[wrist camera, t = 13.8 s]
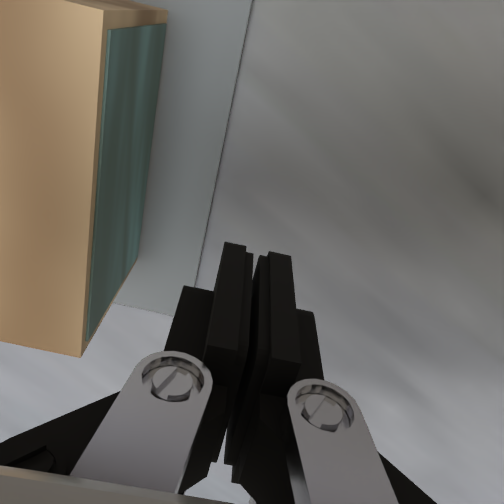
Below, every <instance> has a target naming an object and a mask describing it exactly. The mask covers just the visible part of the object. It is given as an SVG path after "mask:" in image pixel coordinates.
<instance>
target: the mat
mask: <svg viewBox="0 0 504 504" xmlns="http://www.w3.org/2000/svg"><path fill="white" fill-rule="evenodd" d="M130 1H134V2H138V3H142V4H146V5H150V6H154V7H158V8H162V9H166V10H168V16H167V25H166V33H165V41H164V49H163V57H162V65H161V73H160V81H159V89H158V97H157V105H156V113H155V122H154V130H153V138H152V146H151V154H150V162H149V170H148V178H147V186H146V194H145V202H144V210H143V218H142V226H141V234H140V242H139V250H138V257H137V261H136V263H135V265H134V266H133V268H132V270H131V272H130V273H129V275H128V277H127V278H126V280H125V282H124V284H123V285H122V287H121V289H120V291H119V292H118V294H117V296H116V297H115V299H114V301H113V303H115V304H120V305H124V306H129V307H133V308H138V309H142V310H147V311H151V312H156V313H160V314H165V315H170V316H174V315H175V312H176V308H177V305H178V302H179V298H180V295H181V292H182V288H183V286H184V285H185V286H190V287H195V282H196V277H197V272H198V267H199V262H200V257H201V253H202V248H203V243H204V238H205V233H206V228H207V223H208V218H209V213H210V208H211V203H212V198H213V193H214V189H215V184H216V179H217V174H218V169H219V164H220V159H221V154H222V149H223V144H224V139H225V134H226V129H227V125H228V120H229V115H230V110H231V105H232V100H233V95H234V90H235V85H236V80H237V75H238V70H239V66H240V61H241V56H242V51H243V46H244V41H245V36H246V31H247V26H248V21H249V16H250V11H251V6H252V2H253V0H130Z"/></svg>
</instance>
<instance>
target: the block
mask: <svg viewBox="0 0 504 504" xmlns="http://www.w3.org/2000/svg"><path fill="white" fill-rule="evenodd" d="M167 16H168V10H166V9H162V8H158V7H154V6H150V5H146V4H142V3H138V2H134V1H130V0H0V341H2V342H7V343H12V344H16V345H21V346H26V347H31V348H35V349H40V350H45V351H50V352H54V353H59V354H64V355H69V356H73V357H78V358H81V356H82V355H83V353H84V351H85V349H86V348H87V346H88V344H89V342H90V341H91V339H92V337H93V336H94V334H95V332H96V330H97V329H98V327H99V325H100V323H101V322H102V320H103V318H104V317H105V315H106V313H107V311H108V310H109V308H110V306H111V304H112V303H113V301H114V299H115V297H116V296H117V294H118V292H119V291H120V289H121V287H122V285H123V284H124V282H125V280H126V278H127V277H128V275H129V273H130V272H131V270H132V268H133V266H134V265H135V263H136V261H137V257H138V250H139V242H140V234H141V226H142V218H143V210H144V202H145V194H146V186H147V178H148V170H149V162H150V154H151V146H152V138H153V130H154V122H155V113H156V105H157V97H158V89H159V81H160V73H161V65H162V57H163V49H164V41H165V33H166V25H167Z"/></svg>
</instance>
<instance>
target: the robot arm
mask: <svg viewBox="0 0 504 504" xmlns="http://www.w3.org/2000/svg"><path fill="white" fill-rule="evenodd" d="M252 274H253V253H248V252H246V246H243V245H238V244H233V243H229V242H225V243H224V248H223V252H222V256H221V261H220V265H219V270H218V274H217V278H216V283H215V287H214V291H209V290H204V289H200V288H195V287H190V286H185V285H184V286H183V288H182V292H181V295H180V298H179V302H178V305H177V308H176V312H175V315H174V319H173V322H172V325H171V329H170V332H169V335H168V339H167V342H166V345H165V349H164V351H161V352H157V353H153V354H150V355H149V356H147V357H145V358H143V359H142V360H141V361H140V362H139V363H138V364H137V365H136V367H135V368H134V370H133V372H132V373H131V375H130V377H129V378H128V380H127V381H126V383H125V385H124V386H123V388H122V390H121V391H119V392H117V393H115V394H112V395H110V396H108V397H105V398H103V399H100V400H98V401H96V402H93V403H91V404H89V405H86V406H84V407H82V408H79V409H77V410H75V411H72V412H70V413H68V414H65V415H63V416H61V417H58V418H56V419H54V420H51V421H49V422H47V423H44V424H42V425H40V426H37V427H35V428H33V429H30V430H28V431H25V432H23V433H21V434H18V435H16V436H14V437H11V438H9V439H7V440H5V441H4V442H2V443H0V504H233V503H228V502H222V501H216V500H210V499H204V498H198V497H192V496H186V495H185V492H186V490H187V489H189V488H190V487H192V486H193V485H195V484H196V483H198V482H199V481H201V480H202V479H204V478H205V477H207V474H208V471H209V467H210V464H211V462H215V463H216V462H217V460H218V456H219V453H220V450H221V446H222V443H223V439H224V436H225V432H226V429H227V433H226V444H225V455H224V464H227V465H232V466H233V467H232V480H231V482H232V483H237V484H241V485H242V486H243V488H244V489H245V490H246V491H247V492H248V493H249V495H250V496H251V497H250V500H249V504H437V503H436V502H434V501H433V500H432V499H431V498H430V497H429V496H428V495H427V494H425V493H424V492H423V491H422V490H421V489H420V488H419V487H417V486H416V485H415V484H414V483H413V482H412V481H411V480H409V479H408V478H407V477H406V476H405V475H404V474H403V473H401V472H400V471H399V470H398V469H397V468H396V467H395V466H393V465H392V464H391V463H390V462H389V461H388V460H387V459H386V458H384V457H383V456H382V455H381V454H380V453H379V452H378V451H377V449H376V447H375V444H374V442H373V439H372V437H371V434H370V432H369V429H368V427H367V424H366V422H365V420H364V417H363V415H362V412H361V410H360V408H359V406H358V405H357V403H356V401H355V400H354V399H353V398H352V397H351V396H350V395H349V394H348V393H347V392H346V391H345V390H343V389H342V388H340V387H339V386H337V385H335V384H333V383H330V382H328V381H325V380H324V376H323V369H322V363H321V357H320V350H319V344H318V337H317V331H316V324H315V318H314V314H313V312H310V311H305V310H301V309H296V302H295V292H294V282H293V272H292V261H291V256H289V255H284V254H279V253H275V252H270V251H269V253H268V255H267V256H262V255H260V256H259V258H258V262H257V265H256V269H255V273H254V276H253V280H252Z"/></svg>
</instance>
